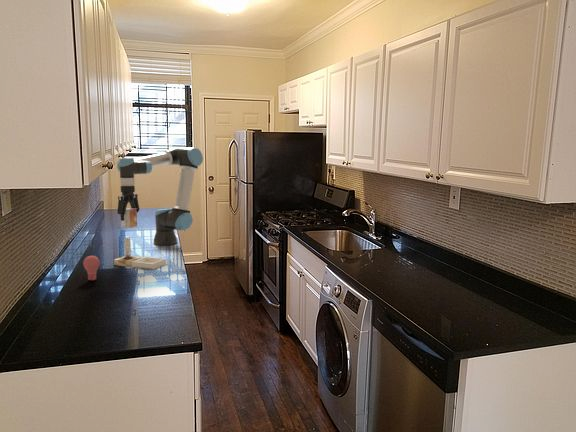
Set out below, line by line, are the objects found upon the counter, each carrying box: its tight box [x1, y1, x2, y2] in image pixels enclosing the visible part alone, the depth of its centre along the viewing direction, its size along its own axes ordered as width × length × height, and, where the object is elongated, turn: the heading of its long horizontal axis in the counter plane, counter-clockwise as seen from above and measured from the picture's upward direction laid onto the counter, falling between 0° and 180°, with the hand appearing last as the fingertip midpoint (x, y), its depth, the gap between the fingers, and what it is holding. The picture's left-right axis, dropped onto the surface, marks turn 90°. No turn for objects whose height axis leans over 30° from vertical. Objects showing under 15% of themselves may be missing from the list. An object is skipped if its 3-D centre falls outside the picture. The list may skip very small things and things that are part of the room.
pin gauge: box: [123, 237, 132, 260], centre depth 238 cm, size 3×3×14 cm
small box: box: [120, 207, 138, 229], centre depth 249 cm, size 8×6×10 cm
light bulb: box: [82, 255, 100, 281], centre depth 208 cm, size 7×7×12 cm
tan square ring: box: [113, 255, 142, 268], centre depth 239 cm, size 10×10×3 cm
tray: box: [131, 256, 167, 271], centre depth 236 cm, size 12×13×3 cm
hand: (129, 224), depth 250 cm, fingers closed on small box, 8 cm apart
